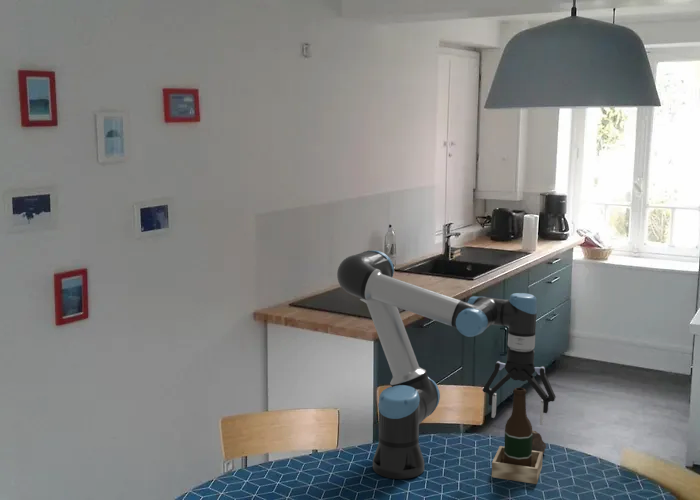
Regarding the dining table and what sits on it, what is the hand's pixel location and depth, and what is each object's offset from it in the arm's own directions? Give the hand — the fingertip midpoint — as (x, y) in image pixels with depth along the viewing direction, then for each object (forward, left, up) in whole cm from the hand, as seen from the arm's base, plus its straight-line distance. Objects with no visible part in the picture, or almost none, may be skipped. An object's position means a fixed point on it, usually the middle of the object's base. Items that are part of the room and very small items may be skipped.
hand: (517, 419), depth 214 cm
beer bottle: (0, 0, -15) cm, 15 cm away
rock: (0, +14, -16) cm, 22 cm away
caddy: (0, 0, -16) cm, 16 cm away
